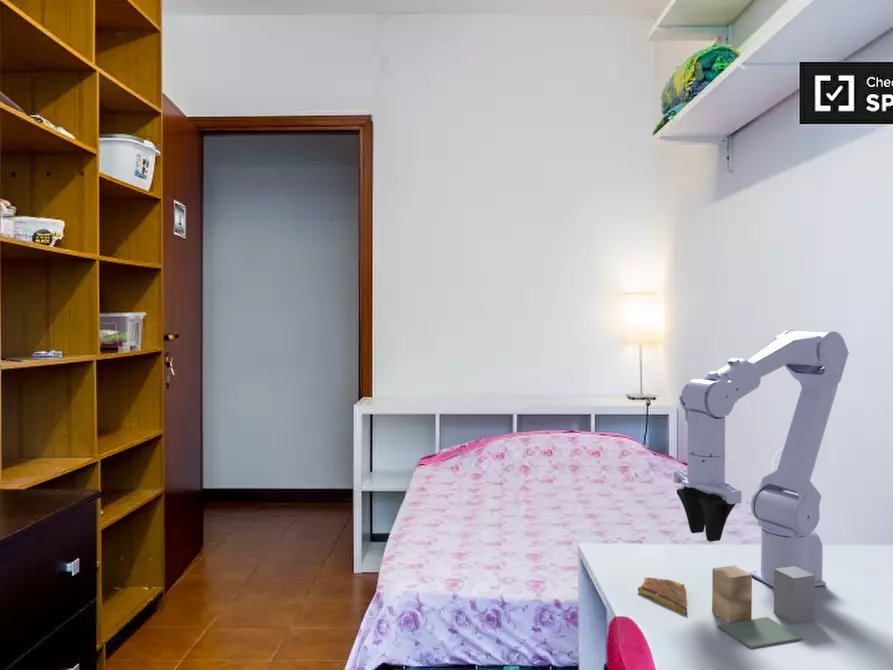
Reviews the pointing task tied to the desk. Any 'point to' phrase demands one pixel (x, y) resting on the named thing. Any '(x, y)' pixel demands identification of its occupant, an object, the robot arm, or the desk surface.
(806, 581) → the grey block
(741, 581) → the oak block
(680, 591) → the shard
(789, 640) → the mat
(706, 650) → the desk surface
